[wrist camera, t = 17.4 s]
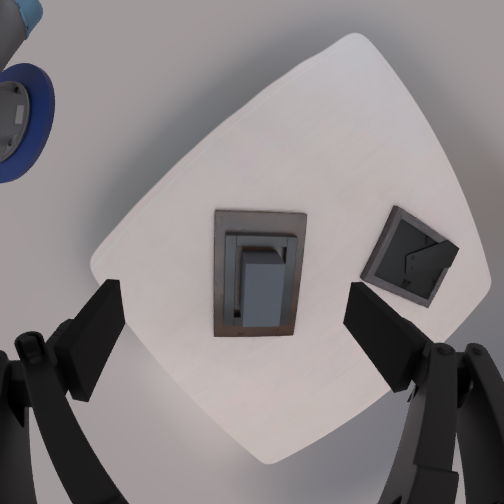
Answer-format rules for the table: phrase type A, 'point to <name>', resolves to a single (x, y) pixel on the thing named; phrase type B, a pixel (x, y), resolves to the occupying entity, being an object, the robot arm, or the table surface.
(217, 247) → the back plate
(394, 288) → the picture frame
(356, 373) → the table surface
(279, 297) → the pad block
